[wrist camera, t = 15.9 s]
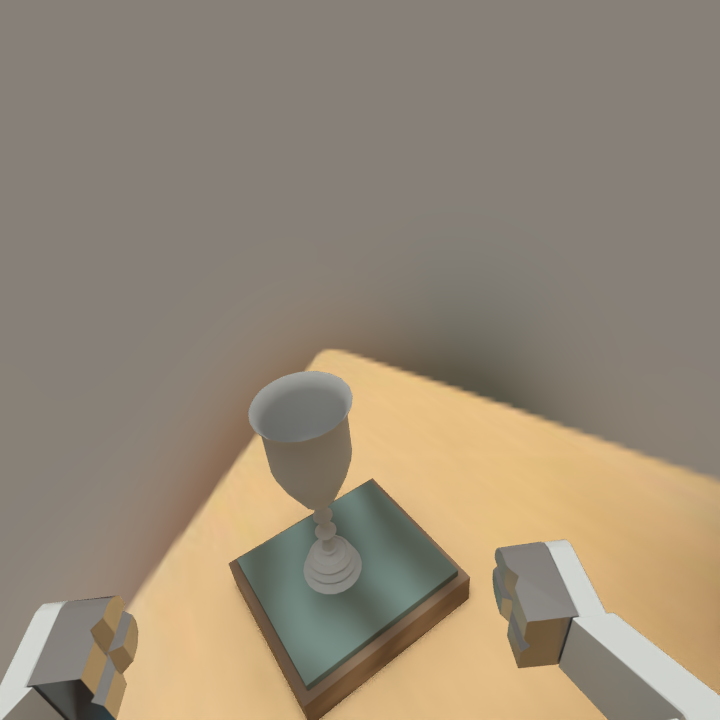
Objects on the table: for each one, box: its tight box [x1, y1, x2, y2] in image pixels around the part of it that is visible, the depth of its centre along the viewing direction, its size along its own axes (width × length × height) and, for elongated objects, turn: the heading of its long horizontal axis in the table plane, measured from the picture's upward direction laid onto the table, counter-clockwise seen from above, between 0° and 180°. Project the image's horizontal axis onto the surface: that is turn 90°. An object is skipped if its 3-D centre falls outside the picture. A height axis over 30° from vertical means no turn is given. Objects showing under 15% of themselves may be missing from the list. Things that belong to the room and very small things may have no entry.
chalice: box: [249, 371, 362, 594], centre depth 37 cm, size 7×7×18 cm
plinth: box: [229, 478, 470, 720], centre depth 43 cm, size 16×14×4 cm
